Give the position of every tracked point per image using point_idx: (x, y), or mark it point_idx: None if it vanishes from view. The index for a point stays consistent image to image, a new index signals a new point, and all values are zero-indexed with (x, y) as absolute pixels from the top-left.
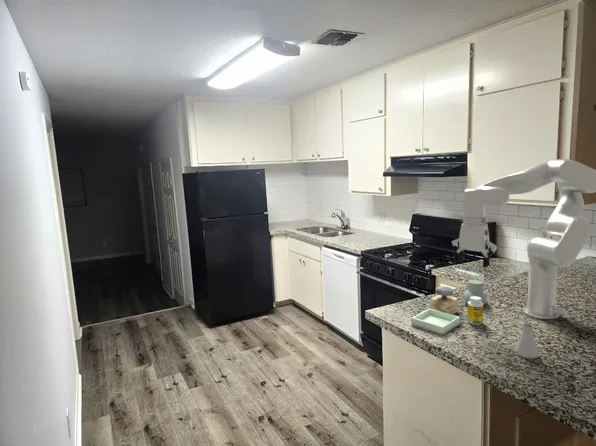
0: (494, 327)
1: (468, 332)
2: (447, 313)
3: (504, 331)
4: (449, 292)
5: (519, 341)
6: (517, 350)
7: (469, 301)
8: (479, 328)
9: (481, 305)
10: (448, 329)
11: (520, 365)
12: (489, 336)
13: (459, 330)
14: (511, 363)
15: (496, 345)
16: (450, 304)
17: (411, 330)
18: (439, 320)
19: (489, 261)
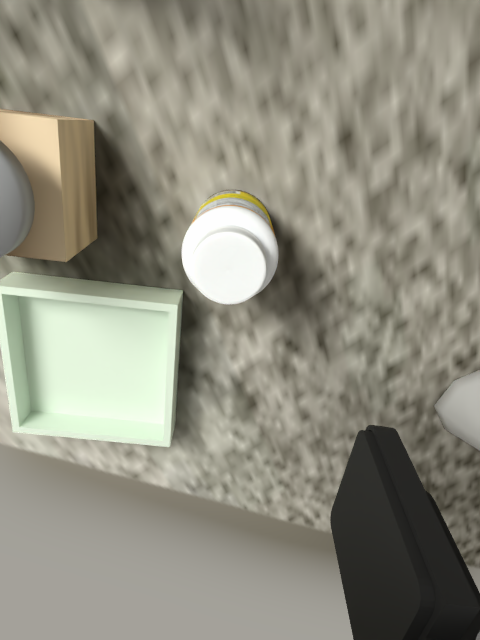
0: (332, 231)
1: (247, 350)
2: (105, 297)
3: (382, 251)
4: (17, 236)
5: (472, 438)
6: (453, 433)
7: (190, 262)
8: (274, 284)
9: (274, 272)
10: (176, 392)
11: (457, 479)
12: (332, 339)
13: (209, 352)
14: (431, 482)
15: (371, 398)
16: (70, 232)
17: (63, 449)
18: (97, 328)
19: (447, 533)
